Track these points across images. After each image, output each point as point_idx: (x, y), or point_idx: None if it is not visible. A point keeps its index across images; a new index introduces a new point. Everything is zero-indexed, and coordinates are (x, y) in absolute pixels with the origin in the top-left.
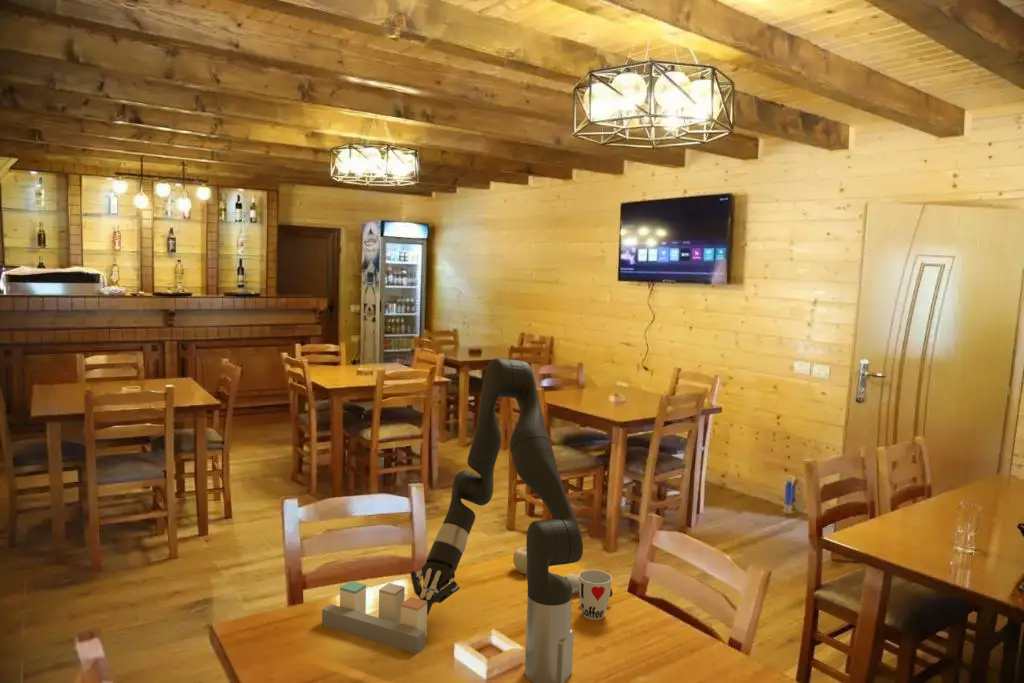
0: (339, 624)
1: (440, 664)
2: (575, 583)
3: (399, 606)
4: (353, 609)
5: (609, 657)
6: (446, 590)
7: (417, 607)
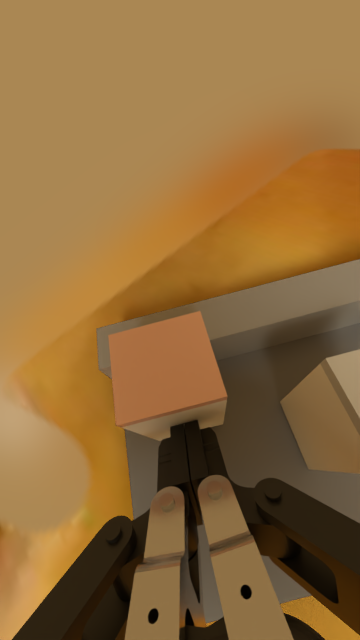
0: None
1: (59, 379)
2: None
3: (316, 425)
4: None
5: None
6: (24, 635)
7: (115, 341)
